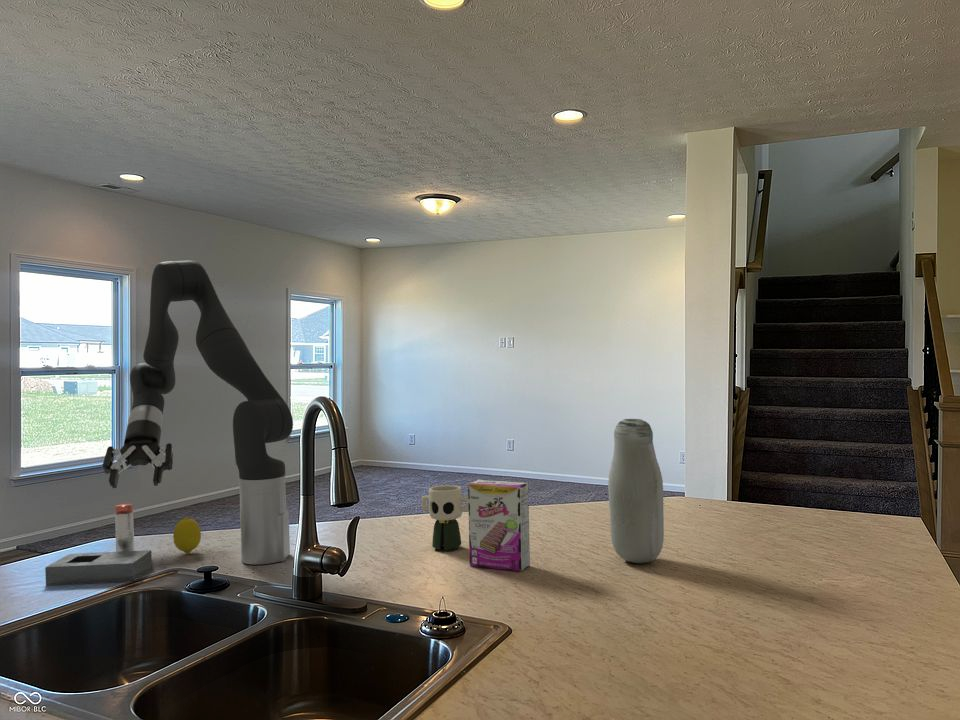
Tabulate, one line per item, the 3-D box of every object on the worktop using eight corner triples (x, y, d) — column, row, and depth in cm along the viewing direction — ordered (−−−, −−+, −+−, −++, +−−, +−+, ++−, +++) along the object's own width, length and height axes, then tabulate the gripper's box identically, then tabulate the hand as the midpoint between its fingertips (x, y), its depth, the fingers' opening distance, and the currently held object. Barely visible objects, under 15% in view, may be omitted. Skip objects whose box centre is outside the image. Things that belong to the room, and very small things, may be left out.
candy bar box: (468, 567, 140) (466, 483, 140) (479, 560, 144) (477, 478, 144) (521, 573, 135) (519, 486, 135) (531, 565, 140) (529, 481, 140)
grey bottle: (672, 559, 141) (669, 417, 141) (646, 572, 134) (642, 422, 133) (629, 551, 148) (625, 415, 148) (601, 562, 140) (597, 419, 140)
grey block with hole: (151, 567, 146) (151, 550, 146) (133, 581, 136) (132, 563, 136) (70, 571, 144) (69, 553, 144) (45, 585, 135) (45, 567, 135)
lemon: (191, 557, 152) (190, 520, 152) (168, 557, 153) (167, 519, 153) (206, 550, 157) (205, 514, 157) (184, 550, 158) (182, 514, 158)
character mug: (417, 551, 152) (415, 490, 152) (428, 542, 159) (426, 484, 159) (466, 554, 149) (464, 491, 149) (475, 545, 156) (474, 485, 156)
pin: (137, 560, 151) (135, 503, 151) (130, 564, 148) (128, 506, 148) (120, 560, 151) (119, 504, 151) (113, 565, 148) (111, 507, 148)
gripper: (108, 419, 166) (95, 477, 155) (174, 417, 170) (166, 472, 158) (114, 440, 171) (103, 497, 160) (178, 437, 175) (171, 492, 164)
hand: (134, 484), depth 159 cm, fingers open, 8 cm apart
